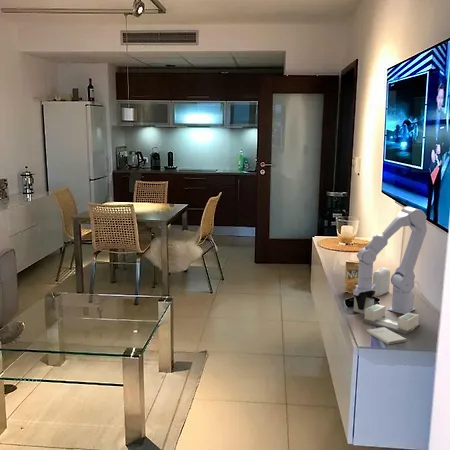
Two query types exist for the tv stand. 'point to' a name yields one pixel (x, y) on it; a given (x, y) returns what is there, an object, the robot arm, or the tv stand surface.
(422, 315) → the tv stand surface
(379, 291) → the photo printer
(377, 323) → the rail panel
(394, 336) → the external hard drive
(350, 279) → the candy box
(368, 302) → the block
